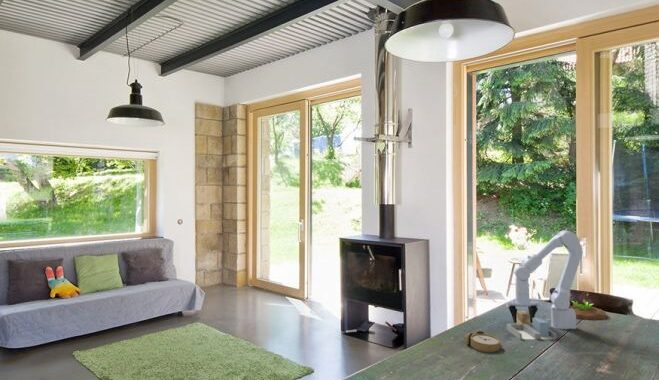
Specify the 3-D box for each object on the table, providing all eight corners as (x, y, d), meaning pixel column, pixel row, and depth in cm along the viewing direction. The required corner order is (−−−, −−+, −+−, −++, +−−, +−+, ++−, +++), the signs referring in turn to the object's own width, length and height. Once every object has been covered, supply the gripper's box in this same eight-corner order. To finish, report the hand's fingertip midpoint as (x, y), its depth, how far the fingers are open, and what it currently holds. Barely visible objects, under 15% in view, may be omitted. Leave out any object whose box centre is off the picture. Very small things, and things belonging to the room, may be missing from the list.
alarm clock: (487, 347, 163) (458, 329, 176) (485, 359, 164) (456, 340, 177) (507, 341, 169) (477, 325, 181) (505, 353, 169) (476, 336, 182)
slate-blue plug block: (541, 331, 186) (540, 317, 186) (548, 336, 179) (548, 322, 179) (532, 331, 186) (532, 317, 187) (540, 336, 179) (539, 322, 180)
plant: (614, 320, 205) (613, 297, 205) (570, 320, 207) (570, 296, 207) (593, 309, 224) (593, 288, 225) (554, 309, 227) (553, 288, 227)
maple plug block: (523, 323, 201) (523, 310, 201) (530, 328, 194) (530, 315, 194) (516, 323, 201) (515, 310, 201) (522, 328, 194) (521, 315, 194)
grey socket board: (541, 330, 190) (540, 323, 190) (556, 341, 176) (556, 333, 176) (506, 330, 191) (506, 323, 191) (519, 341, 177) (519, 333, 177)
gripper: (534, 290, 202) (535, 319, 201) (503, 290, 202) (503, 319, 202) (541, 294, 194) (542, 324, 194) (509, 294, 195) (509, 324, 195)
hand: (522, 322), depth 198 cm, fingers open, 7 cm apart
